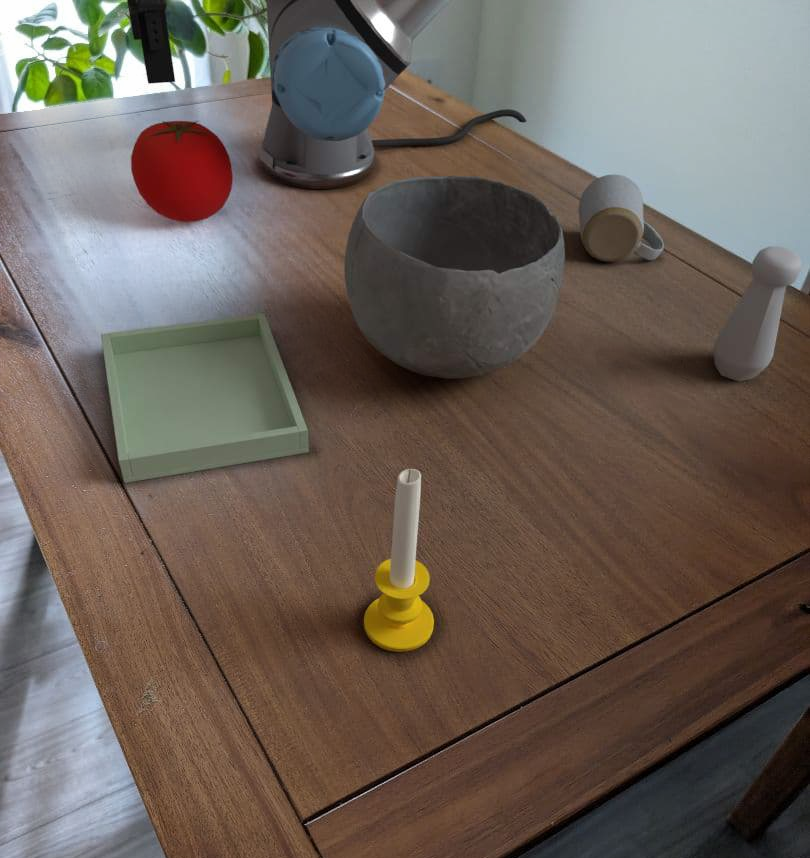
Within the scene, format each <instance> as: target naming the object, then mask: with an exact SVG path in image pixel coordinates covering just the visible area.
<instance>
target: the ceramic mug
mask: <svg viewBox="0 0 810 858" xmlns="http://www.w3.org/2000/svg"><path fill="white" fill-rule="evenodd" d="M578 216H579V217H578V218H579V230H580V233H579V234H580V238H581V242H582V245H583V247H584V249H585V250H586V252H587V253H588V254H589V255H590V256H591V257H592V258H593V259H596V260H598V261H602V262H606V263H609V262H610V263H611V262H612V263H614V262H618V261H622V260H624V259H626V258H628V257H629V256H631V255H632V254H635V255H636V256H638V257H640V258H642V259H644V260H647V261H654V260H656V259H657V258H659V256H660V255H661V253H663V251H664V248H665V244H664V240H663V239H662V237H661V235H660V234H659V233H658V232H657V230H655V229H654V228H653V227H652V226H651V225H650V224H649V223H647V221H645V220H644V198H643V195H642V191H641V190H640V187H639V186H638V185H637V184H636V182H634V181H633V180H632V179H630V178H629V177H627V176H625V175H620V174H607V175H602V176H600V177H598V178H596V179H595V180H593V181H592V182H590V183H589V184H588V185H587V186H586V187H585V189H584V190H583V192H582V194H581V197H580V198H579V203H578ZM642 238H643V239H644V240H645V241H646V242H647V243H648V244H649V245H650V246H651V247H650V246H648V245H647V244H645V243H643V242H642Z"/></svg>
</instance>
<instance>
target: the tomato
mask: <svg viewBox="0 0 810 858" xmlns="http://www.w3.org/2000/svg"><path fill="white" fill-rule="evenodd" d="M200 120H201V119H200ZM200 120H197V121H196V120H195V121H189V120H169V121H165V120H161V122H158V123H155V124H151V125H150V126H148V127H146V128H145V129H144V130H142V131H141V132H140V133H139V135H138V137H137V138H136V141H135V143H134V145H133V148H132V151H131V155H130V168H131V170H130V171H131V174H132V178H133V182H134V185H135V187H136V189H137V191H138V193H139V195H140V197H141V198H142V199H143V200H144V202H145V203H146V205H147V206H148V207H149V208H151V209H152V210H153V211H154V212H155V213H157V214H159V215H161V216H162V217H164V218H166V219H169V220H173V221H176V222H182V223H192V222H197V221H198V222H200V221H203V220H205V219H208V218H210V217H212V216H214V215H215V214H217V213H218V212H219V211H220V210H221V209H222V208H224V206H225V204H226V202H227V201H228V199H229V197H230V194H231V191H232V189H233V182H234V181H233V179H234V176H233V168H232V162H231V158H230V155H229V153H228V151H227V149H226V146H225V145H224V143H223V141H222V140H221V139H220V138H219V136H218V135H217V134H215V132H213V131H212V130H210V129H209V128H208V127H206V126H205V125H203V124H200V123H198V122H200Z"/></svg>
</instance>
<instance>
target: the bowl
mask: <svg viewBox="0 0 810 858" xmlns="http://www.w3.org/2000/svg"><path fill="white" fill-rule="evenodd" d="M565 260H566V247H565V239H564V233H563V229H562V226H561V225H560V222H559V220H558V218H557V217H556V215H555V214H553V212H552V210H551V209H549V207H548V206H547V204H545V203H544V202H543V201H542V200H540V199H539V198H537V197H536V196H535V195H533V194H532V193H531V192H528V191H526V190H524V189H522V188H519V187H516V186H514V185H511V184H508V183H506V182H502V181H500V180H495V179H492V178H486V177H481V176H470V175H469V176H468V175H467V176H464V175H463V176H462V175H446V176H445V175H444V176H440V175H439V176H417V177H416V176H415V177H408V178H407V177H406V178H403V179H399V180H394V181H390V182H388V183H386V184H384V185H382V186H379V187H377V188H376V189H374V190H372V191H370V193H368V195H367V196H366V197H365V198H364V200H363V202H362V203H361V205H360V207H359V208H358V210H357V211H356V215H355V216H354V219H353V222H352V224H351V227H350V230H349V233H348V237H347V243H346V247H345V254H344V283H345V289H346V290H345V291H346V296H347V299H348V302H349V306H350V309H351V312H352V315H353V318H354V321H355V322H356V324H357V326H358V329H359V331H360V332H361V334H362V335H363V336H364V338H365V339H366V341H368V342H369V343H370V344H371V346H373V347H374V349H376V350H377V351H378V352H379V353H380V354H382V355H383V356H384V357H385V358H387V359H389V360H390V361H391V362H393V363H394V364H396V365H398V366H400V367H402V368H404V369H406V370H408V371H411V372H413V373H415V374H418V375H421V376H426V377H434V378H441V379H446V380H448V379H452V380H453V379H454V380H455V379H467V378H474V377H480V376H484V375H486V374H490V373H493V372H496V371H498V370H500V369H502V368H505V367H507V366H509V365H511V364H512V363H514V362H515V361H517V360H519V359H521V358H522V357H523V356H524V355H525V354H526V353H527V352H529V350H531V349H532V347H534V346H535V344H536V343H537V342H538V341H539V339H540V338H541V336H542V335H543V334H544V332H545V330H546V328H547V327H548V325H549V322H550V321H551V319H552V317H553V315H554V312H555V310H556V309H555V308H556V306H557V303H558V299H559V295H560V292H561V291H562V290H561V289H562V285H563V278H564V273H565Z"/></svg>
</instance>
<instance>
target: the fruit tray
mask: <svg viewBox="0 0 810 858" xmlns="http://www.w3.org/2000/svg"><path fill="white" fill-rule="evenodd" d="M100 338H101V346H102V352H103V353H102V354H103V359H104V367H105V373H106V382H107V388H108V395H109V396H108V397H109V402H110V409H111V416H112V424H113V431H114V439H115V447H116V452H117V460H118V465H119V468H120V472H121V476H122V480H123V483H124V484H128V483H133V482H140V481H145V480H151V479H157V478H165V477H170V476H175V475H181V474H188V473H194V472H200V471H206V470H211V469H218V468H223V467H230V466H235V465H242V464H249V463H253V462H254V463H255V462H259V461H265V460H272V459H277V458H284V457H291V456H296V455H301V454H307V453H309V452H310V451H309V432H308V431H309V429H308V427H307V424H306V422H305V419H304V416H303V413H302V411H301V408H300V405H299V403H298V400H297V397H296V395H295V392H294V389H293V386H292V383H291V381H290V378H289V376H288V373H287V370H286V368H285V366H284V363H283V359H282V357H281V354H280V351H279V349H278V345H277V344H276V341H275V338H274V335H273V332H272V330H271V327H270V324H269V322H268V319H267V317H266V314H265V313H259V314H258V313H257V314H250V315H242V316H234V317H226V318H218V319H210V320H209V319H208V320H201V321H195V322H194V321H193V322H185V323H178V324H177V323H176V324H170V325H161V326H153V327H145V328H137V329H128V330H121V331H113V332H106V333H100Z"/></svg>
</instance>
